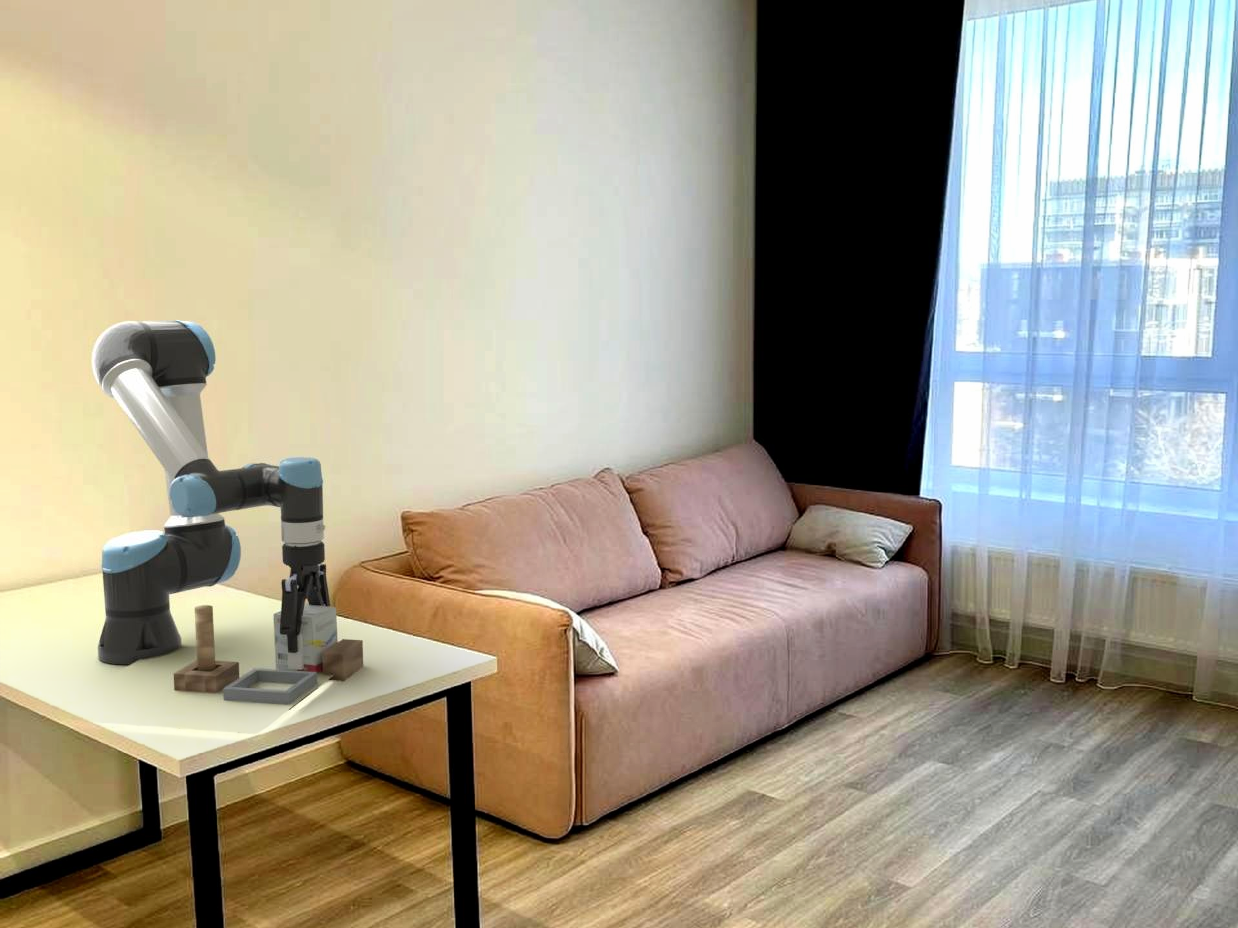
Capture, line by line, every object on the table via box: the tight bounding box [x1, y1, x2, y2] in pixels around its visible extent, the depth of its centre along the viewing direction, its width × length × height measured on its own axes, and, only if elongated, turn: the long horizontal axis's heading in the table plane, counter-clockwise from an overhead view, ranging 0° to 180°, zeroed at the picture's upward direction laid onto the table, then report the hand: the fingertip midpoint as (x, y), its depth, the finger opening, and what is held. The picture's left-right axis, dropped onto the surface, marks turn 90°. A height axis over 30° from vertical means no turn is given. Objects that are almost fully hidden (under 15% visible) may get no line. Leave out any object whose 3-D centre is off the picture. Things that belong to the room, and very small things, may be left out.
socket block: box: [173, 659, 241, 694], centre depth 205 cm, size 8×8×4 cm
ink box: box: [272, 603, 339, 674], centre depth 214 cm, size 9×9×12 cm
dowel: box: [194, 604, 216, 672], centre depth 204 cm, size 3×3×14 cm
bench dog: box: [322, 638, 364, 682], centre depth 214 cm, size 4×9×5 cm, turn 170°
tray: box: [222, 667, 318, 711], centre depth 201 cm, size 12×11×3 cm
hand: (307, 660), depth 215 cm, fingers closed on ink box, 9 cm apart
